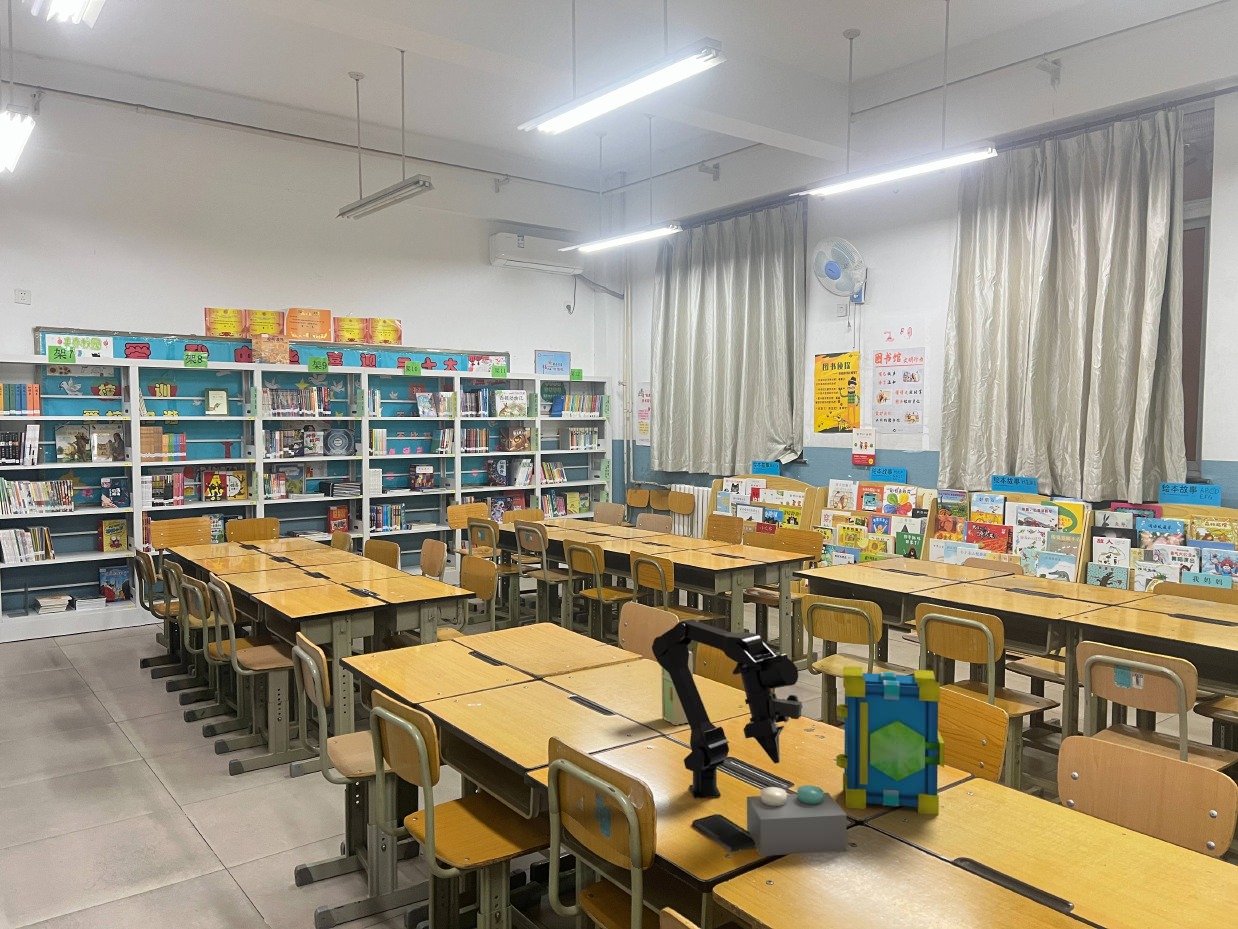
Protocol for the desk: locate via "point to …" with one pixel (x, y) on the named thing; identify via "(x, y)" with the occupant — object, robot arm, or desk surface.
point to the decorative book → (891, 739)
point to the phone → (724, 832)
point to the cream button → (773, 796)
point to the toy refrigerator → (673, 697)
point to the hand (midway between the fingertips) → (777, 763)
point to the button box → (796, 826)
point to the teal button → (810, 794)
